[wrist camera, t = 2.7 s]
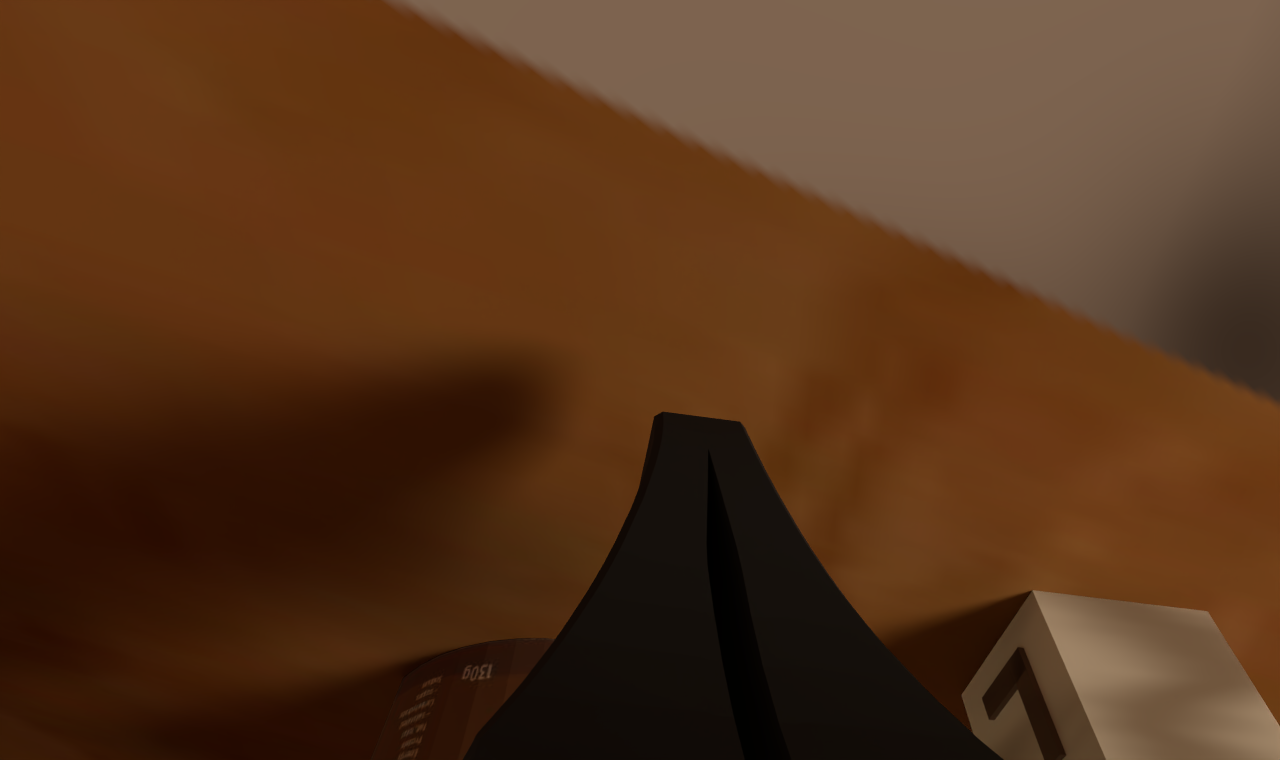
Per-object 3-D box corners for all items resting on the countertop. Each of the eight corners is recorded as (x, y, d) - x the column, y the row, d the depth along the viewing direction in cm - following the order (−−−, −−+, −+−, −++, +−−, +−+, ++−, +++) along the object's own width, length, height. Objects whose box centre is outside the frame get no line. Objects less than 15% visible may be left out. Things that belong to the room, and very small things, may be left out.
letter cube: (1205, 608, 21) (1320, 791, 17) (1115, 709, 23) (1197, 885, 20) (1025, 586, 20) (1102, 768, 17) (955, 691, 23) (1008, 867, 19)
